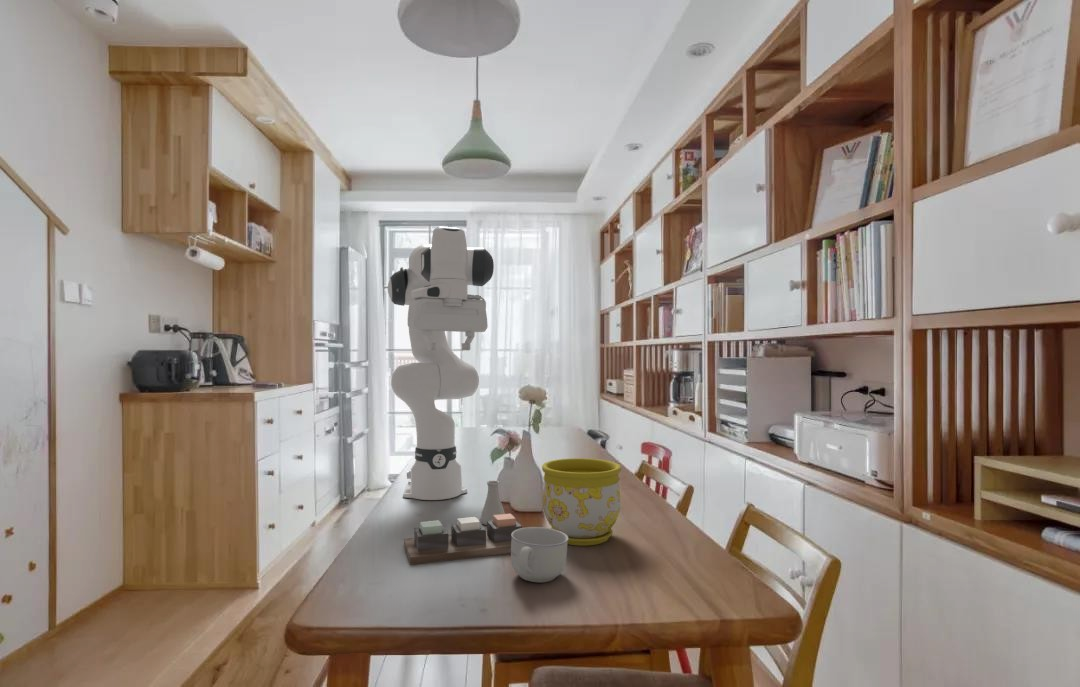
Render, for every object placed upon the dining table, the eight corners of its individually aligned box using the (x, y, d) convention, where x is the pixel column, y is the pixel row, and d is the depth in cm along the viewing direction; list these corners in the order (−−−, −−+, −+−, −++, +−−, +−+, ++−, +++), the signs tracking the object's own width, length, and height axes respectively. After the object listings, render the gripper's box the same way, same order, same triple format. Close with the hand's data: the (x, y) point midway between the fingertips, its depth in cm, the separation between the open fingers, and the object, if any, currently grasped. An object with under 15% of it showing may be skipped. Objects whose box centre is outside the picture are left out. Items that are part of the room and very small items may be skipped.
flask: (503, 527, 141) (503, 485, 141) (474, 525, 143) (474, 484, 143) (510, 518, 148) (510, 479, 148) (483, 517, 150) (483, 478, 150)
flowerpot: (527, 542, 130) (527, 468, 130) (562, 521, 146) (562, 455, 146) (603, 555, 122) (603, 476, 122) (631, 532, 138) (631, 462, 138)
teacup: (530, 562, 118) (530, 522, 118) (578, 573, 112) (578, 531, 112) (489, 586, 106) (489, 541, 106) (541, 599, 100) (541, 552, 100)
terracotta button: (493, 524, 130) (493, 515, 130) (510, 522, 131) (510, 513, 131) (497, 529, 126) (497, 520, 126) (515, 527, 128) (515, 518, 128)
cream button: (457, 527, 127) (457, 518, 127) (475, 525, 129) (475, 516, 129) (461, 533, 124) (461, 523, 124) (479, 531, 125) (479, 521, 125)
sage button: (420, 531, 125) (420, 522, 125) (439, 529, 126) (439, 520, 126) (422, 537, 121) (423, 527, 121) (442, 535, 122) (442, 525, 122)
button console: (403, 545, 127) (403, 525, 127) (517, 533, 136) (517, 514, 136) (410, 564, 116) (410, 542, 116) (534, 550, 125) (534, 529, 125)
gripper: (478, 296, 150) (478, 350, 150) (404, 291, 138) (404, 350, 137) (492, 294, 145) (492, 350, 145) (416, 288, 133) (416, 349, 132)
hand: (449, 350), depth 141 cm, fingers open, 8 cm apart
